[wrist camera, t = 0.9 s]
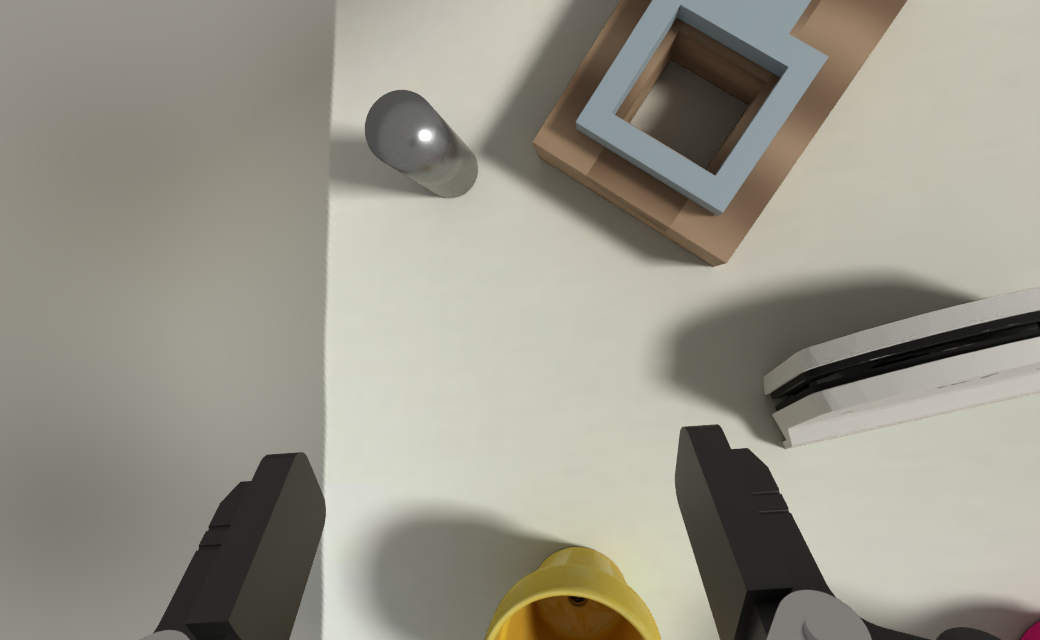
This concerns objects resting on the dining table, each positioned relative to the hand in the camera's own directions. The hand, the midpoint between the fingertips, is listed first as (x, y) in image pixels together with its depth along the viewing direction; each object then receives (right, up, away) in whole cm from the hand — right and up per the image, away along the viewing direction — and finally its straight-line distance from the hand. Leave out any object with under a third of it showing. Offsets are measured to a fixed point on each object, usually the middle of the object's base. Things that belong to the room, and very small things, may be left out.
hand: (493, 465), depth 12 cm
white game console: (+25, 0, +25) cm, 35 cm away
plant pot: (+5, -16, +28) cm, 33 cm away
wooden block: (+13, +19, +25) cm, 34 cm away
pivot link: (+13, +20, +21) cm, 32 cm away
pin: (-4, +14, +28) cm, 31 cm away
